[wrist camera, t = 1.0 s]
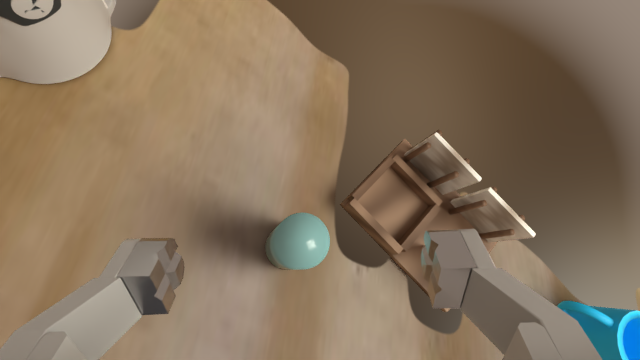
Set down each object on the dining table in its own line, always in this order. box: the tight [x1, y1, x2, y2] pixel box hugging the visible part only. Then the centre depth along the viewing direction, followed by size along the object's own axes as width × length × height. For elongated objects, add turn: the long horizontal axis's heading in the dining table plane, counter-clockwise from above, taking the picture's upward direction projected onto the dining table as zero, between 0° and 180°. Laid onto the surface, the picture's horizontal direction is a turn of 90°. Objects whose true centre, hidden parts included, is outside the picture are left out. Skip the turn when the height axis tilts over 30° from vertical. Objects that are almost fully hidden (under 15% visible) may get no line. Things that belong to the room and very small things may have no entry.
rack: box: [340, 130, 536, 312], centre depth 46 cm, size 20×14×9 cm
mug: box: [557, 301, 640, 360], centre depth 48 cm, size 12×8×8 cm
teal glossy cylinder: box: [265, 213, 330, 270], centre depth 40 cm, size 6×6×10 cm
